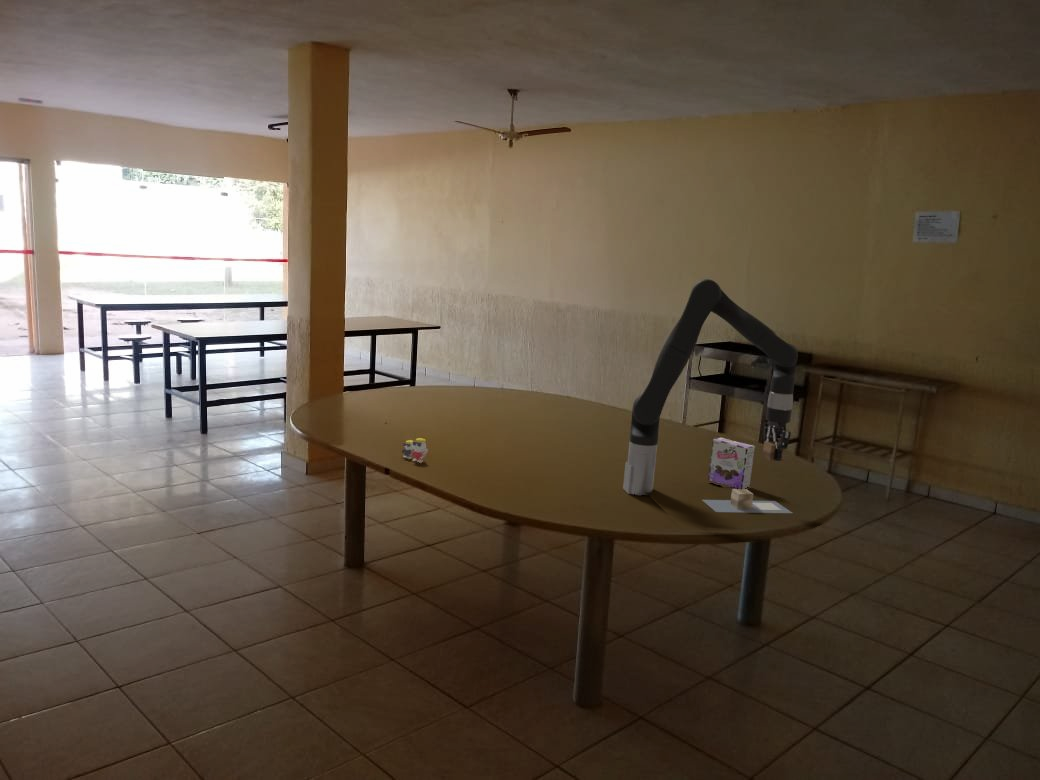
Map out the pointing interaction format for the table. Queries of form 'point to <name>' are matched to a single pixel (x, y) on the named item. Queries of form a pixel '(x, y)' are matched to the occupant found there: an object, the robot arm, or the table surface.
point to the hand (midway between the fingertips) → (773, 457)
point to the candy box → (731, 463)
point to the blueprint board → (756, 508)
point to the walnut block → (771, 451)
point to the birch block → (741, 499)
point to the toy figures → (418, 450)
